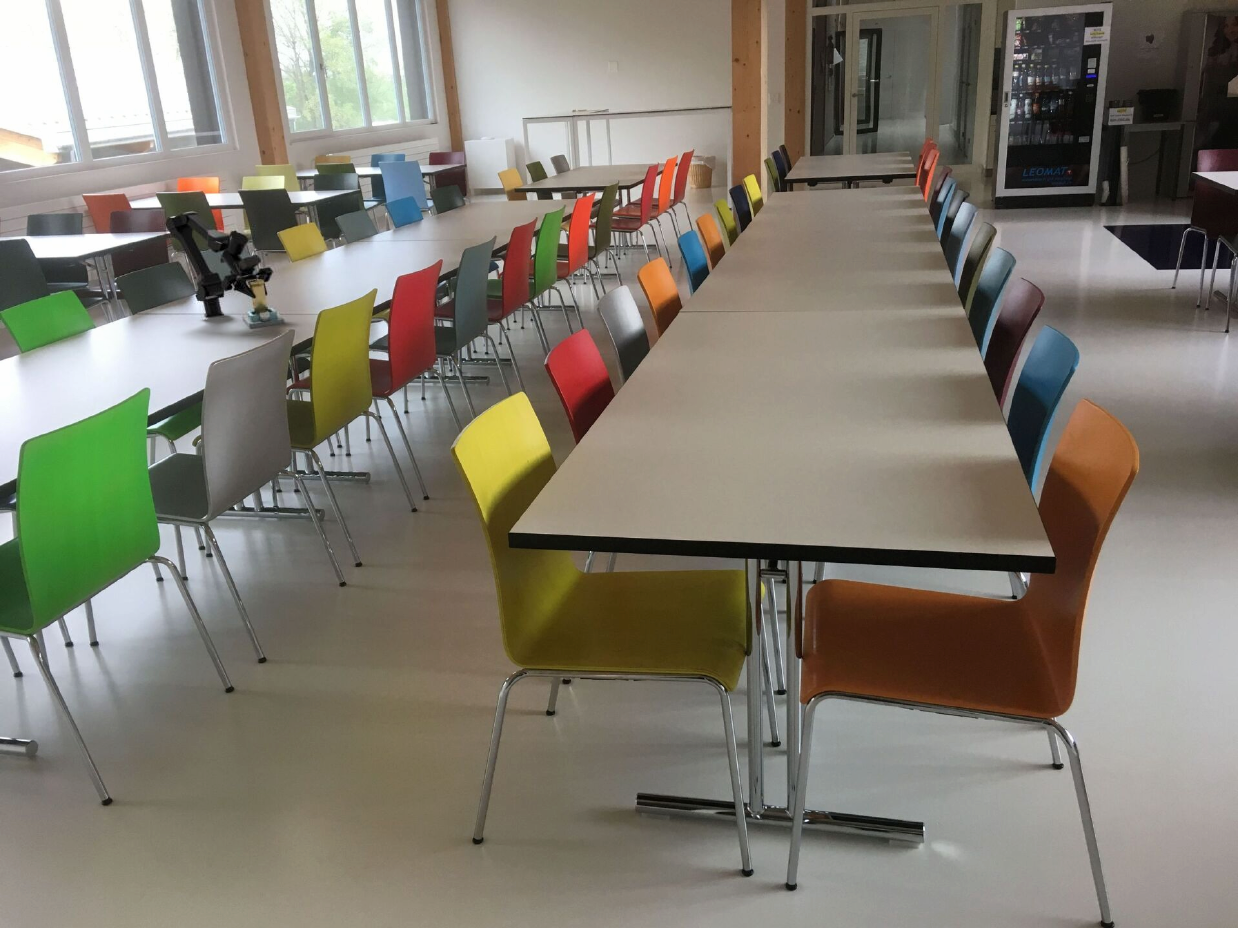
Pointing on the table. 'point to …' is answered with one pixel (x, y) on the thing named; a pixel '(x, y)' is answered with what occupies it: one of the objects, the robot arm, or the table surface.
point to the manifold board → (261, 324)
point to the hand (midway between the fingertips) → (260, 296)
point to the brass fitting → (258, 296)
